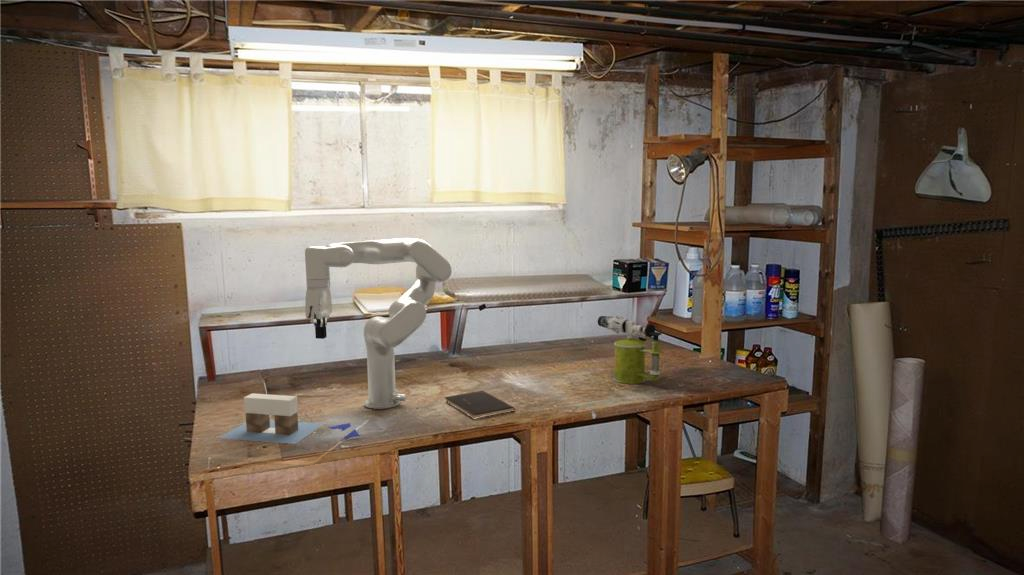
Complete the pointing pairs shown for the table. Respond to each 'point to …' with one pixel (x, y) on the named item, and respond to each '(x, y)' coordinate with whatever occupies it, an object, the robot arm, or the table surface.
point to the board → (272, 433)
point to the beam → (271, 404)
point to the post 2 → (286, 424)
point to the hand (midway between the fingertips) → (321, 337)
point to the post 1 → (257, 422)
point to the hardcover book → (479, 403)
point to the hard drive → (351, 435)
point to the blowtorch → (632, 350)
